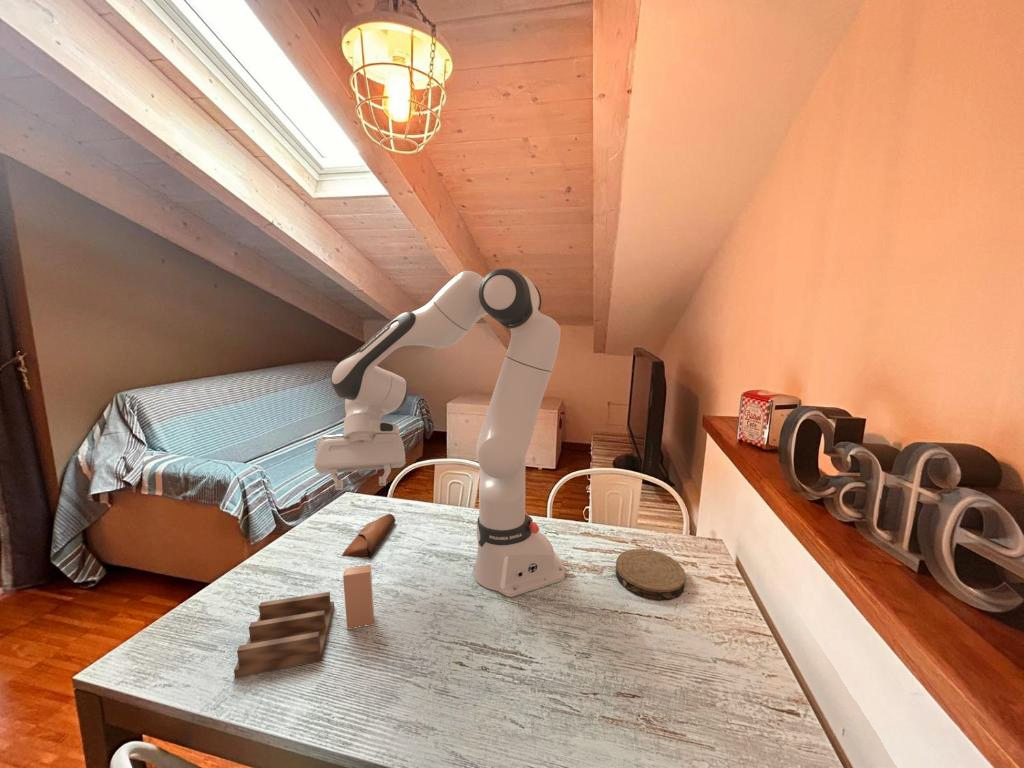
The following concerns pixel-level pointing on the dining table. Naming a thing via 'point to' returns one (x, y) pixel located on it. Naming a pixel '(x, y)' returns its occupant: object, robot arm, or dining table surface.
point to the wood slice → (650, 574)
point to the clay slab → (358, 596)
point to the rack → (286, 634)
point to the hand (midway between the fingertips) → (360, 487)
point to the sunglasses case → (370, 537)
